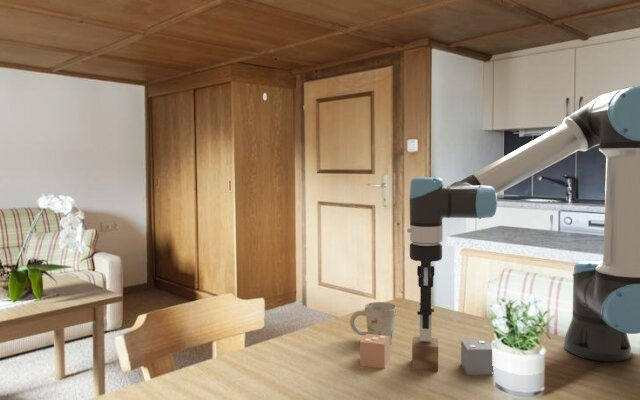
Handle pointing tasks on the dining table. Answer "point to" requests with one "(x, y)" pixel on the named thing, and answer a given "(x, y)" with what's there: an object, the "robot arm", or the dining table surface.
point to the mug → (377, 319)
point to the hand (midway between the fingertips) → (425, 340)
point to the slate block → (476, 356)
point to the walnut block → (425, 354)
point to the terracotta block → (375, 351)
